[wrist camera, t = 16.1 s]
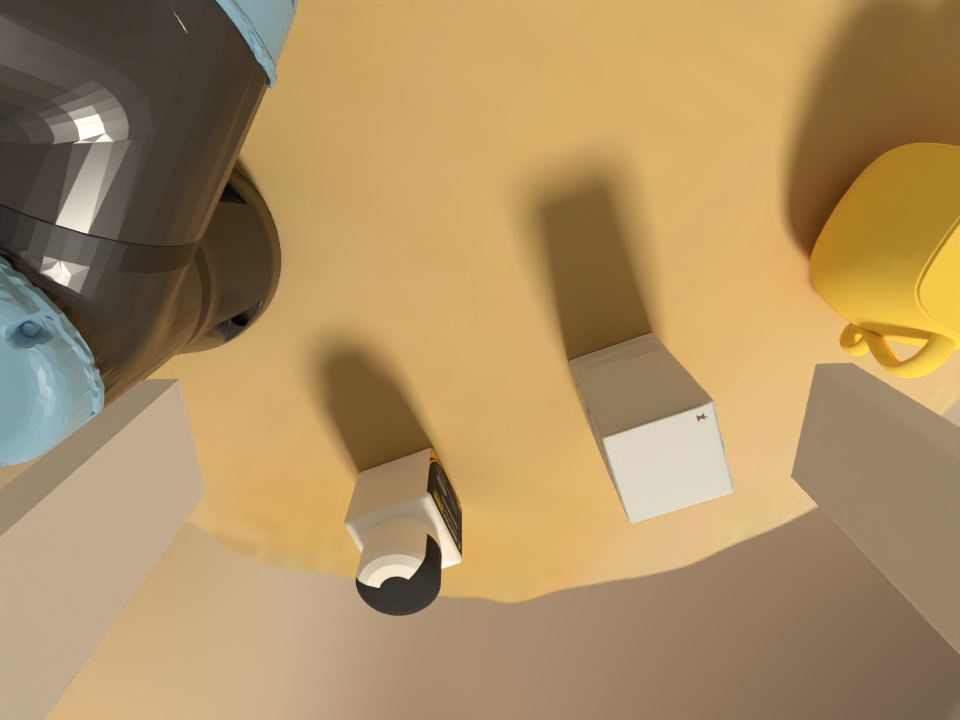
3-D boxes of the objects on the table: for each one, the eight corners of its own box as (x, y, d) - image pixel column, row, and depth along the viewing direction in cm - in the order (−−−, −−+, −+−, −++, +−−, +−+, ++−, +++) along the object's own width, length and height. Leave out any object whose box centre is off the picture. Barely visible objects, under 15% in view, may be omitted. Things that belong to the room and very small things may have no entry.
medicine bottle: (463, 508, 52) (463, 611, 41) (391, 532, 53) (372, 640, 42) (432, 445, 50) (424, 536, 39) (357, 471, 50) (328, 568, 39)
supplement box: (565, 359, 47) (599, 435, 35) (653, 329, 46) (718, 397, 35) (589, 433, 50) (628, 527, 38) (672, 407, 49) (739, 494, 37)
